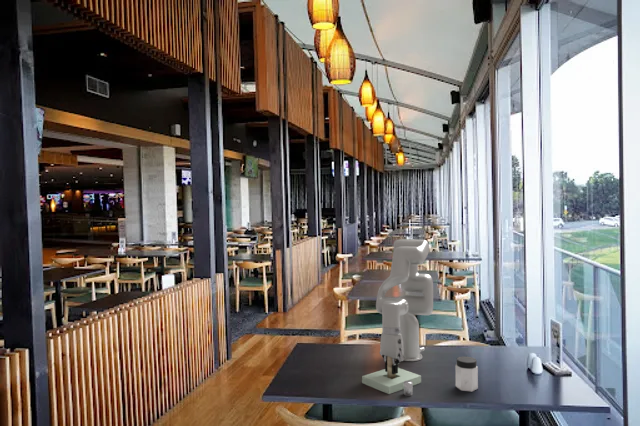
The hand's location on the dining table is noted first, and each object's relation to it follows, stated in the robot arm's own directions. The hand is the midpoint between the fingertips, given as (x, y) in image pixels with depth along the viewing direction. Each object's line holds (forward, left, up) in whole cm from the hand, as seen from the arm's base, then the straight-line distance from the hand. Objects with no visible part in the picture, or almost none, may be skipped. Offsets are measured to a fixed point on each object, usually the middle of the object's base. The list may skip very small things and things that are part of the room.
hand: (391, 371), depth 209 cm
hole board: (0, 0, -5) cm, 5 cm away
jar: (-20, +24, -5) cm, 32 cm away
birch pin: (0, 0, -3) cm, 3 cm away
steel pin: (+4, +13, -5) cm, 14 cm away
